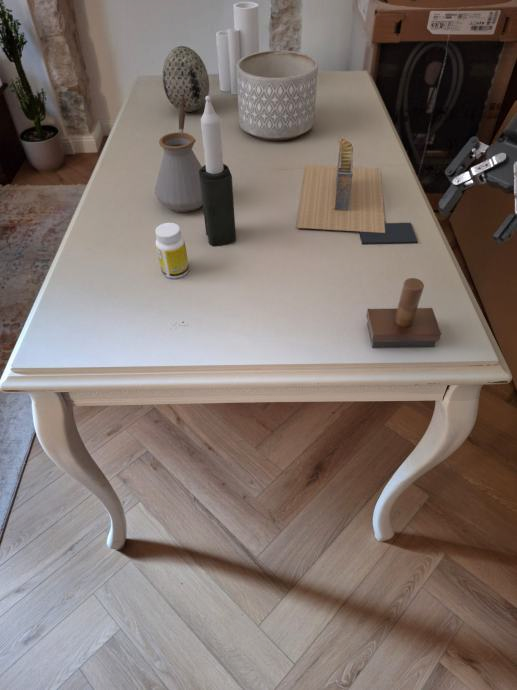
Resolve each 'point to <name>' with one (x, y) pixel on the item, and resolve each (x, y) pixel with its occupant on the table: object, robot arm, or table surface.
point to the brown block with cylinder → (404, 321)
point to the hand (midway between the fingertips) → (467, 227)
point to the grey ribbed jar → (179, 170)
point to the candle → (216, 183)
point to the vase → (237, 44)
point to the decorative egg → (185, 78)
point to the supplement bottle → (171, 250)
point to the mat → (390, 235)
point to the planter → (276, 93)
